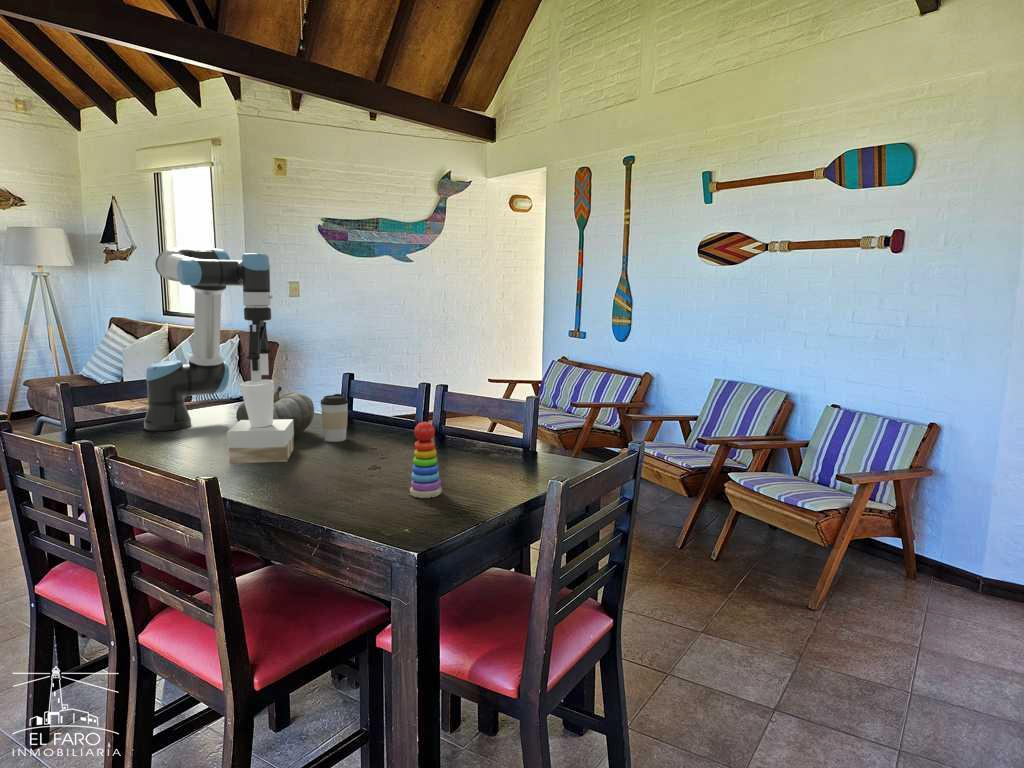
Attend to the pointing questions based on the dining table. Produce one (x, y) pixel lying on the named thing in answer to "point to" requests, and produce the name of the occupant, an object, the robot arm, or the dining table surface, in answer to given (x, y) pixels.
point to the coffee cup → (334, 417)
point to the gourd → (287, 409)
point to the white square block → (260, 434)
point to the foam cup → (259, 402)
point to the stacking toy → (425, 464)
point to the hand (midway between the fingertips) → (260, 378)
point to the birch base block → (261, 454)
